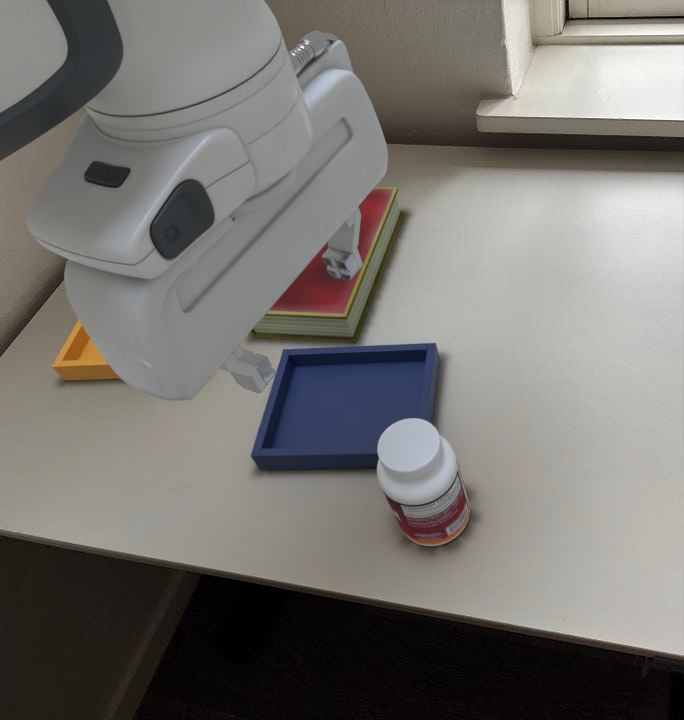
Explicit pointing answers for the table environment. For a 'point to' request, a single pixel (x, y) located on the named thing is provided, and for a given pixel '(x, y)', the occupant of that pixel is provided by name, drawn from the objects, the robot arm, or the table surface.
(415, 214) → the table surface
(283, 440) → the navy tray
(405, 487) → the pill bottle
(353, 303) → the hardcover book
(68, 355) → the amber tray
